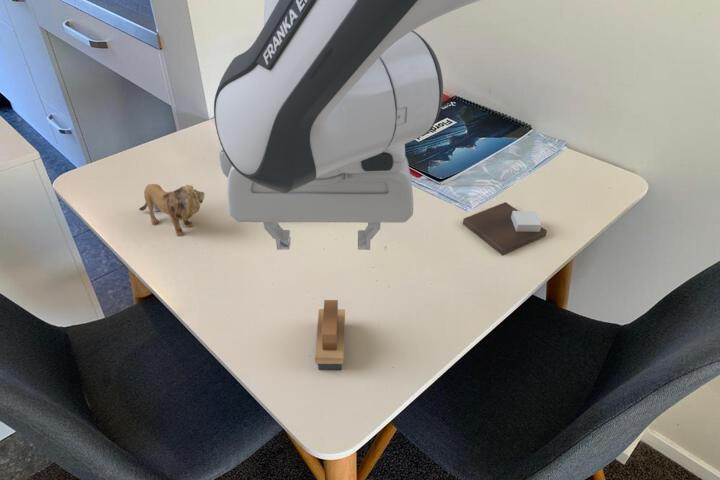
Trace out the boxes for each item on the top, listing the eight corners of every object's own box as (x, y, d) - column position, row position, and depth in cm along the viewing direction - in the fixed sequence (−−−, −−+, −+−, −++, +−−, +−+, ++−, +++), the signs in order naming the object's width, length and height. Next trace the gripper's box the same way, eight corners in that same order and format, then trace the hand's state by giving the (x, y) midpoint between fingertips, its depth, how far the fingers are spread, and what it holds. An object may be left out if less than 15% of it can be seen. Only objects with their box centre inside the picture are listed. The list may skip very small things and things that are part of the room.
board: (545, 236, 89) (547, 230, 88) (502, 255, 85) (503, 250, 84) (504, 207, 96) (505, 201, 95) (462, 224, 92) (463, 218, 91)
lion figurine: (215, 225, 91) (206, 181, 85) (196, 243, 87) (185, 198, 81) (150, 204, 95) (137, 161, 90) (128, 220, 92) (114, 176, 86)
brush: (343, 371, 67) (343, 342, 63) (315, 371, 67) (313, 342, 63) (345, 322, 73) (344, 293, 70) (319, 322, 73) (318, 293, 70)
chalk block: (539, 231, 88) (541, 224, 87) (516, 231, 88) (517, 224, 87) (533, 217, 91) (535, 210, 90) (510, 217, 91) (512, 210, 90)
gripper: (209, 156, 51) (230, 263, 59) (420, 156, 51) (411, 264, 59) (222, 126, 56) (240, 230, 64) (414, 127, 56) (407, 230, 64)
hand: (324, 246), depth 62 cm, fingers open, 8 cm apart
